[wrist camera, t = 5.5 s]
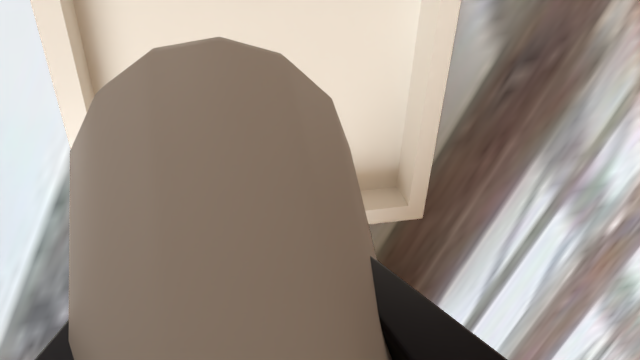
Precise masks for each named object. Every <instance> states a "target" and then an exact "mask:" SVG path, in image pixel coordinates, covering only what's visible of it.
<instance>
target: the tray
mask: <svg viewBox="0 0 640 360" xmlns="http://www.w3.org/2000/svg"><path fill="white" fill-rule="evenodd" d="M30 1H31V5H32V9H33V12H34V16H35V20H36V23H37V27H38V31H39V34H40V38H41V42H42V45H43V49H44V53H45V57H46V60H47V64H48V68H49V71H50V75H51V79H52V82H53V86H54V90H55V93H56V97H57V101H58V105H59V108H60V112H61V116H62V119H63V123H64V127H65V130H66V134H67V138H68V141H69V145H70V149H71V148H72V146H73V143H74V141H75V139H76V136H77V134H78V132H79V130H80V127H81V125H82V123H83V121H84V118H85V116H86V114H87V112H88V109H89V107H90V105H91V102H92V100H93V98H94V96H95V94H96V93H97V92H98V91H99V90H100V89H101V88H102V87H103V86H104V85H105V84H107V83H108V82H109V81H111V80H112V79H113V78H115V77H116V76H117V75H119V74H120V73H121V72H123V71H124V70H125V69H126V68H128V67H129V66H130V65H132V64H133V63H134V62H136V61H137V60H138V59H140V58H141V57H142V56H144V55H145V54H146V53H148V52H149V51H150V50H151V49H153V48H157V47H162V46H168V45H174V44H180V43H185V42H191V41H197V40H202V39H208V38H214V37H223V38H227V39H230V40H234V41H238V42H241V43H245V44H249V45H252V46H256V47H260V48H263V49H267V50H271V51H274V52H278V53H281V54H282V55H283V56H285V57H286V58H287V59H288V60H289V61H290V62H292V63H293V64H294V65H295V66H296V67H297V68H298V69H299V70H301V71H302V72H303V73H304V74H305V75H306V76H307V77H308V78H309V79H311V80H312V81H313V82H314V83H315V84H316V85H317V86H318V87H320V88H321V89H322V90H323V91H324V92H325V93H326V94H327V95H329V96H330V97H331V98H332V101H333V103H334V106H335V109H336V111H337V114H338V117H339V120H340V122H341V125H342V128H343V130H344V133H345V136H346V139H347V141H348V144H349V147H350V150H351V154H352V158H353V163H354V167H355V171H356V175H357V179H358V183H359V187H360V191H361V196H362V200H363V204H364V208H365V212H366V216H367V220H368V224H378V223H386V222H395V221H404V220H412V219H421V218H423V213H424V207H425V201H426V196H427V190H428V185H429V179H430V173H431V168H432V162H433V156H434V151H435V145H436V139H437V134H438V128H439V123H440V117H441V111H442V106H443V100H444V94H445V89H446V83H447V77H448V72H449V66H450V61H451V55H452V49H453V44H454V38H455V32H456V27H457V21H458V16H459V10H460V4H461V0H30Z"/></svg>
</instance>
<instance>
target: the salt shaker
mask: <svg viewBox="0 0 640 360" xmlns="http://www.w3.org/2000/svg"><path fill="white" fill-rule="evenodd" d="M370 256H372V257H373V258H375V259H376V260H377V257H376V253H375V249H374V245H373V241H372V237H371V233H370V229H369V224H368V220H367V216H366V212H365V208H364V204H363V200H362V196H361V191H360V187H359V183H358V179H357V175H356V171H355V167H354V163H353V158H352V154H351V150H350V147H349V144H348V141H347V139H346V136H345V133H344V130H343V128H342V125H341V122H340V120H339V117H338V114H337V111H336V109H335V106H334V103H333V101H332V98H331V97H330V96H329V95H327V94H326V93H325V92H324V91H323V90H322V89H321V88H320V87H318V86H317V85H316V84H315V83H314V82H313V81H312V80H311V79H309V78H308V77H307V76H306V75H305V74H304V73H303V72H302V71H301V70H299V69H298V68H297V67H296V66H295V65H294V64H293V63H292V62H290V61H289V60H288V59H287V58H286V57H285V56H283V55H282V54H281V53H278V52H274V51H271V50H267V49H263V48H260V47H256V46H252V45H249V44H245V43H241V42H238V41H234V40H230V39H227V38H223V37H214V38H208V39H202V40H197V41H191V42H185V43H180V44H174V45H168V46H162V47H157V48H153V49H151V50H150V51H149V52H148V53H146V54H145V55H144V56H142V57H141V58H140V59H138V60H137V61H136V62H134V63H133V64H132V65H130V66H129V67H128V68H126V69H125V70H124V71H123V72H121V73H120V74H119V75H117V76H116V77H115V78H113V79H112V80H111V81H109V82H108V83H107V84H105V85H104V86H103V87H102V88H101V89H100V90H99V91H98V92H97V93H96V94H95V96H94V98H93V100H92V102H91V105H90V107H89V109H88V112H87V114H86V116H85V118H84V121H83V123H82V125H81V127H80V130H79V132H78V134H77V136H76V139H75V141H74V143H73V146H72V148H71V150H70V223H69V344H70V347H71V351H72V354H73V357H74V360H392V358H391V355H390V353H389V350H388V347H387V345H386V342H385V339H384V336H383V332H382V329H381V325H380V320H379V315H378V309H377V302H376V295H375V288H374V281H373V274H372V267H371V260H370Z"/></svg>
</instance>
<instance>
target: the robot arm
mask: <svg viewBox="0 0 640 360" xmlns="http://www.w3.org/2000/svg"><path fill="white" fill-rule="evenodd" d="M370 260H371V267H372V274H373V281H374V288H375V295H376V302H377V309H378V315H379V320H380V325H381V329H382V332H383V336H384V339H385V342H386V345H387V347H388V350H389V353H390V355H391V358H392V360H507V359H506V358H505V357H503V356H502V355H501V354H499V353H498V352H497V351H495V350H494V349H493V348H491V347H490V346H489V345H487V344H486V343H485V342H484V341H482V340H481V339H480V338H478V337H477V336H476V335H474V334H473V333H472V332H470V331H469V330H468V329H466V328H465V327H464V326H463V325H461V324H460V323H459V322H457V321H456V320H455V319H453V318H452V317H451V316H449V315H448V314H447V313H445V312H444V311H443V310H442V309H440V308H439V307H438V306H436V305H435V304H434V303H432V302H431V301H430V300H428V299H427V298H426V297H424V296H423V295H422V294H421V293H419V292H418V291H417V290H415V289H414V288H413V287H411V286H410V285H409V284H407V283H406V282H405V281H403V280H402V279H401V278H400V277H398V276H397V275H396V274H394V273H393V272H392V271H390V270H389V269H388V268H386V267H385V266H384V265H382V264H381V263H380V262H379V261H377V260H376V259H375V258H373V257H372V256H370ZM34 360H74V357H73V354H72V351H71V347H70V344H69V319H68V321H67V322H66V323H65V324H64V325H63V327H62V328H61V329H60V330H59V331H58V332H57V334H56V335H55V336H54V337H53V338H52V339H51V341H50V342H49V343H48V344H47V345H46V347H45V348H44V349H43V350H42V351H41V352H40V354H39V355H38V356H37V357H36V358H35V359H34Z"/></svg>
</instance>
